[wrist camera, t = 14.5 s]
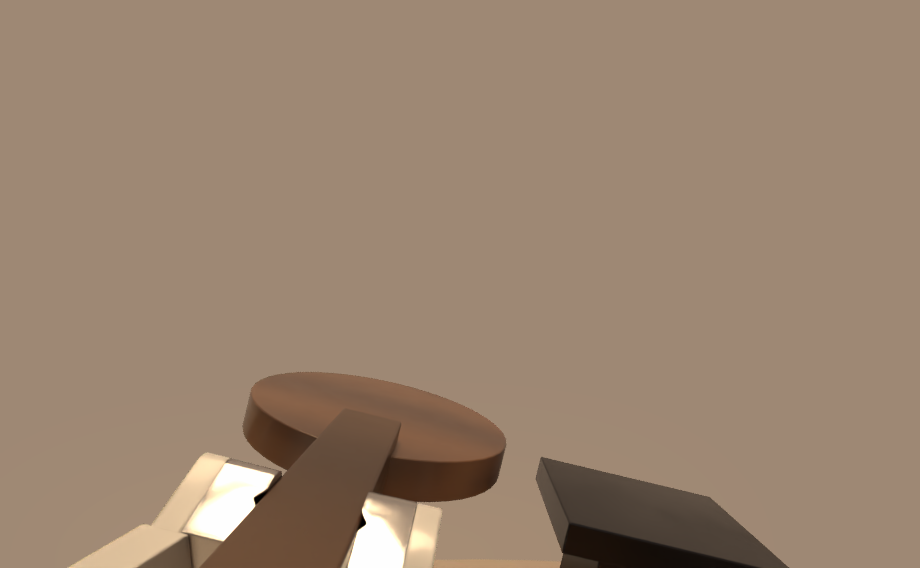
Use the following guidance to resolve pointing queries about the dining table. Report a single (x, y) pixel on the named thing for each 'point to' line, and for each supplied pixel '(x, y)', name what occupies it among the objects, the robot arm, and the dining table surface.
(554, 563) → the dining table surface
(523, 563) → the dining table surface
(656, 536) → the stand
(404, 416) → the lid
